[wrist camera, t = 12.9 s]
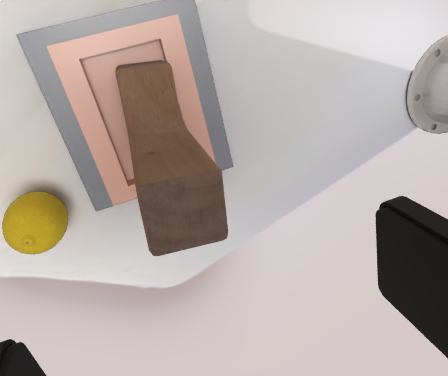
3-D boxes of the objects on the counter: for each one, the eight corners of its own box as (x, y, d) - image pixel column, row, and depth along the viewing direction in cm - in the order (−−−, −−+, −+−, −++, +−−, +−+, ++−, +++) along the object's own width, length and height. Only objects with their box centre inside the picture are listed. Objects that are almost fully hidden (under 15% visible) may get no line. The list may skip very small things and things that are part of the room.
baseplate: (190, -6, 34) (201, -13, 29) (229, 162, 41) (243, 176, 37) (20, 35, 31) (4, 33, 27) (96, 205, 39) (94, 226, 34)
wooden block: (114, 65, 31) (113, 89, 15) (164, 59, 32) (213, 76, 16) (134, 160, 35) (151, 260, 19) (179, 152, 36) (230, 241, 20)
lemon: (20, 175, 35) (-4, 208, 28) (77, 187, 38) (68, 221, 30) (11, 222, 37) (-14, 265, 30) (66, 231, 39) (55, 273, 32)
